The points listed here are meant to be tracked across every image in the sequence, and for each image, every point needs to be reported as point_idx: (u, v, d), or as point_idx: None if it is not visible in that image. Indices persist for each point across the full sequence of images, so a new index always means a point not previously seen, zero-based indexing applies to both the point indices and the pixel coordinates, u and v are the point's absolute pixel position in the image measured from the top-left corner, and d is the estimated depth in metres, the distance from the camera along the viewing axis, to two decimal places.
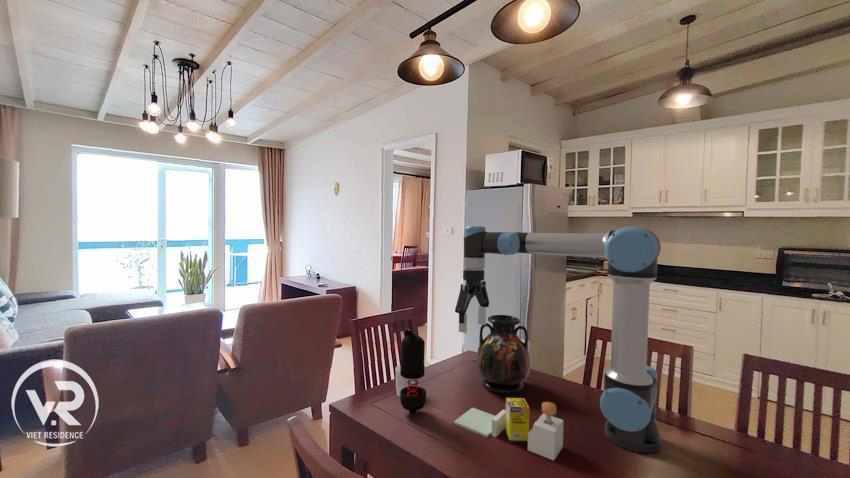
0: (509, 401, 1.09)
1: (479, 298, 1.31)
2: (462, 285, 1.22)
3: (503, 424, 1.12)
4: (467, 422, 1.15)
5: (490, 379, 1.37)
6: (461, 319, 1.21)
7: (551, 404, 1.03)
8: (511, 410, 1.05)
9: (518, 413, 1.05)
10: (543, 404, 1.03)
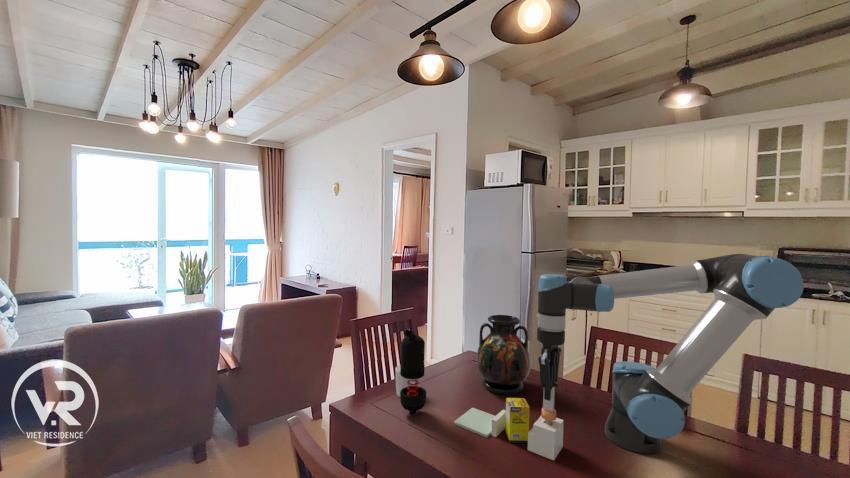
0: (509, 401, 1.09)
1: None
2: (540, 360, 0.97)
3: (503, 424, 1.12)
4: (467, 422, 1.15)
5: (490, 379, 1.37)
6: (547, 395, 1.01)
7: None
8: (511, 410, 1.05)
9: (518, 413, 1.05)
10: (543, 409, 1.03)
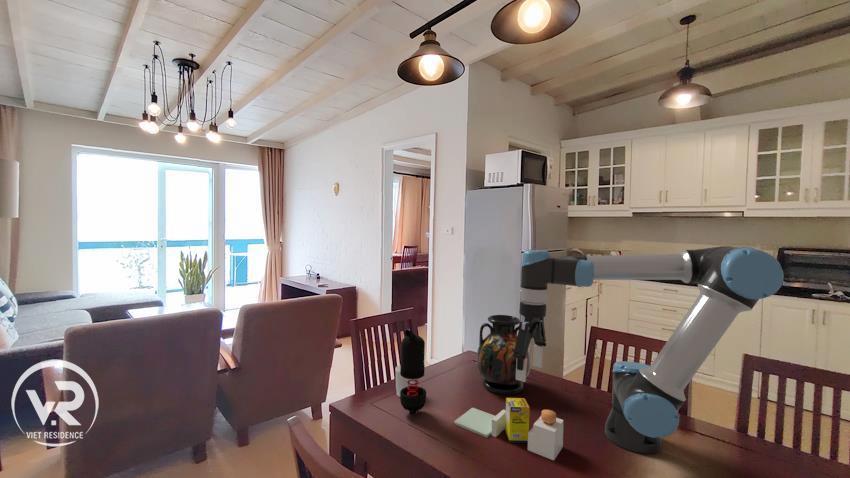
0: (509, 401, 1.09)
1: (536, 336, 1.09)
2: (521, 323, 1.00)
3: (503, 424, 1.12)
4: (467, 422, 1.15)
5: (490, 379, 1.37)
6: (520, 365, 0.99)
7: (551, 412, 1.03)
8: (511, 410, 1.05)
9: (518, 413, 1.05)
10: (543, 412, 1.03)
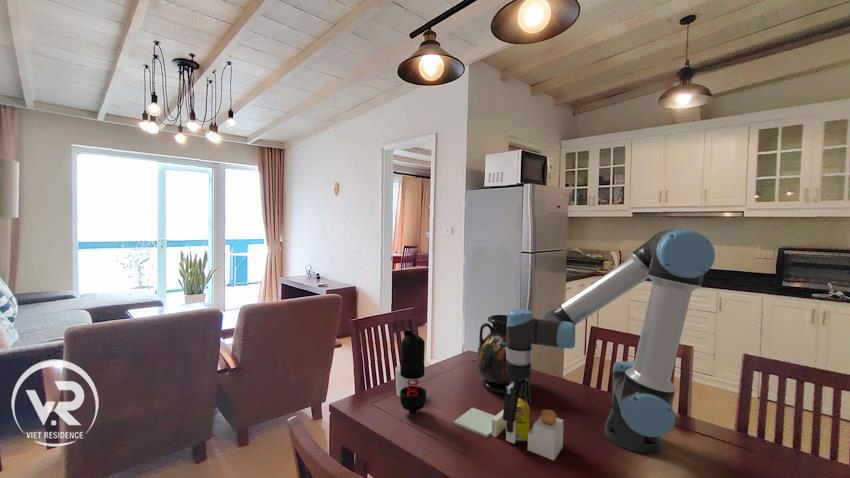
0: None
1: (521, 396, 1.11)
2: (507, 388, 1.03)
3: (503, 424, 1.12)
4: (467, 422, 1.15)
5: (490, 379, 1.37)
6: (510, 428, 1.04)
7: (551, 412, 1.03)
8: None
9: (518, 413, 1.05)
10: (543, 412, 1.03)
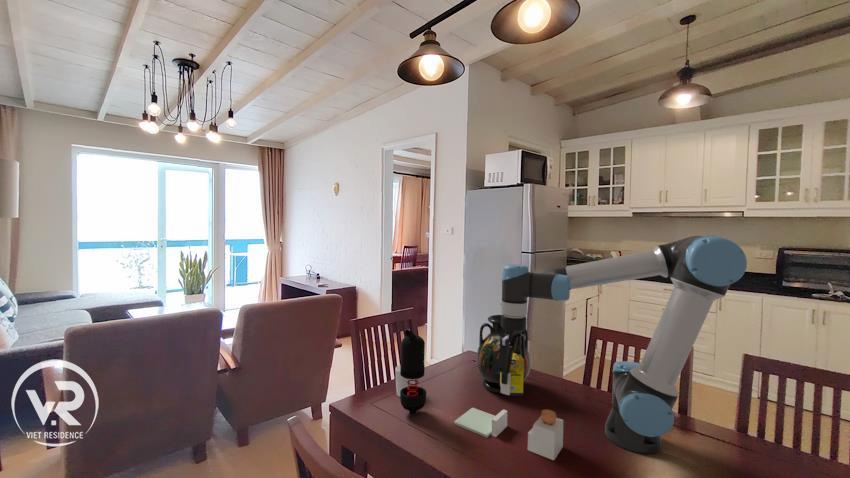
0: None
1: (516, 351, 1.12)
2: (502, 340, 1.04)
3: (503, 424, 1.12)
4: (467, 422, 1.15)
5: (490, 379, 1.37)
6: (504, 379, 1.04)
7: (551, 412, 1.03)
8: None
9: (513, 366, 1.06)
10: (543, 412, 1.03)
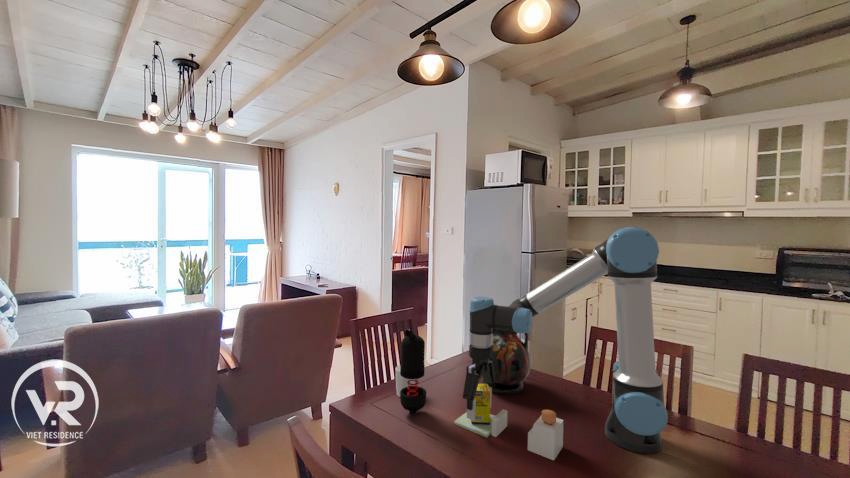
0: None
1: (485, 377, 1.19)
2: (468, 368, 1.11)
3: (503, 424, 1.12)
4: (467, 422, 1.15)
5: None
6: (469, 406, 1.11)
7: (551, 412, 1.03)
8: None
9: (480, 397, 1.14)
10: (543, 412, 1.03)
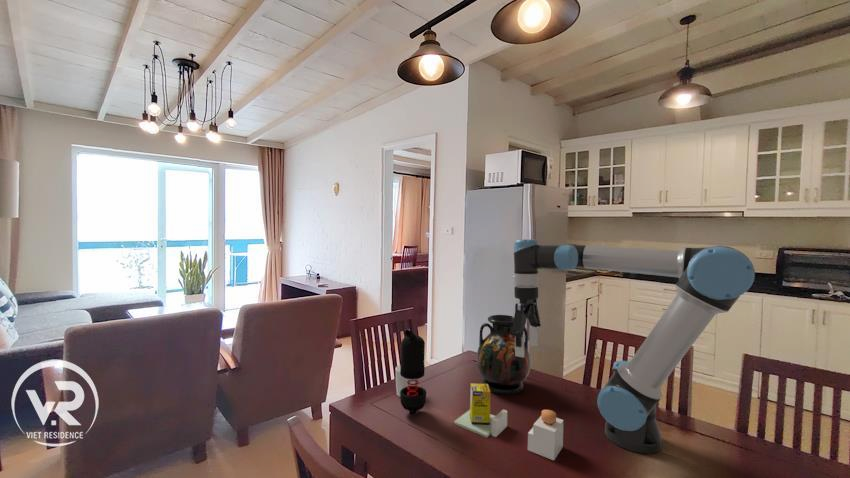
0: (472, 386, 1.17)
1: (531, 318, 1.21)
2: (517, 304, 1.12)
3: (503, 424, 1.12)
4: (467, 422, 1.15)
5: (490, 379, 1.37)
6: (518, 342, 1.10)
7: (551, 412, 1.03)
8: (473, 394, 1.14)
9: (480, 397, 1.13)
10: (543, 412, 1.03)
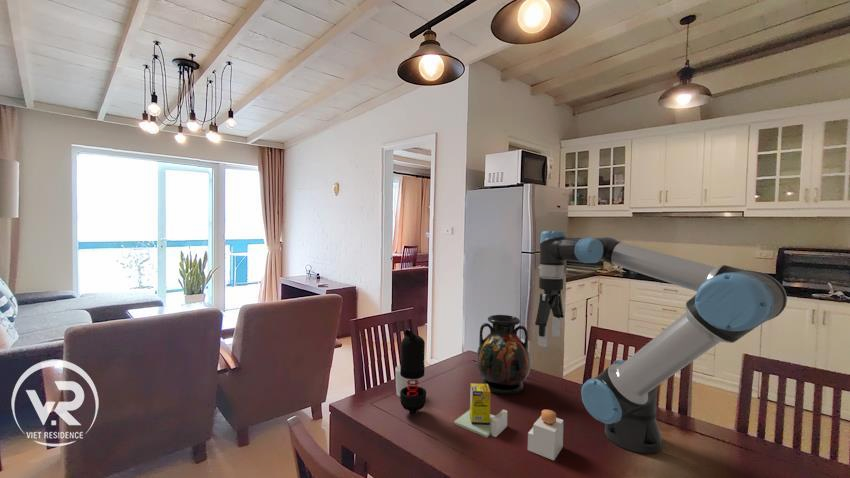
0: (472, 386, 1.17)
1: (554, 309, 1.22)
2: (542, 295, 1.13)
3: (503, 424, 1.12)
4: (467, 422, 1.15)
5: (490, 379, 1.37)
6: (542, 332, 1.11)
7: (551, 412, 1.03)
8: (473, 394, 1.14)
9: (480, 397, 1.13)
10: (543, 412, 1.03)
